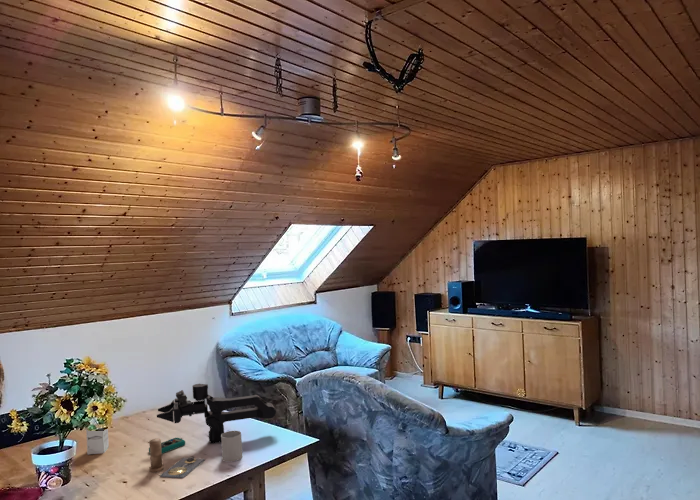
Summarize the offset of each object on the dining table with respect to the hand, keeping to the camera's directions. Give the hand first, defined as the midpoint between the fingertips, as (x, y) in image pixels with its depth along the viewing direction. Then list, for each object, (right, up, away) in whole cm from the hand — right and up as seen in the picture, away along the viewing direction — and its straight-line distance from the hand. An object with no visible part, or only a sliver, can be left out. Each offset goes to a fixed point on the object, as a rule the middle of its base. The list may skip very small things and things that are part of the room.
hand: (157, 412), depth 238 cm
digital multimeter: (+4, -17, +1) cm, 18 cm away
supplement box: (-27, -18, +2) cm, 33 cm away
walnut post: (+8, -17, -21) cm, 28 cm away
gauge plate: (+18, -16, -22) cm, 33 cm away
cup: (+37, -15, -13) cm, 42 cm away
